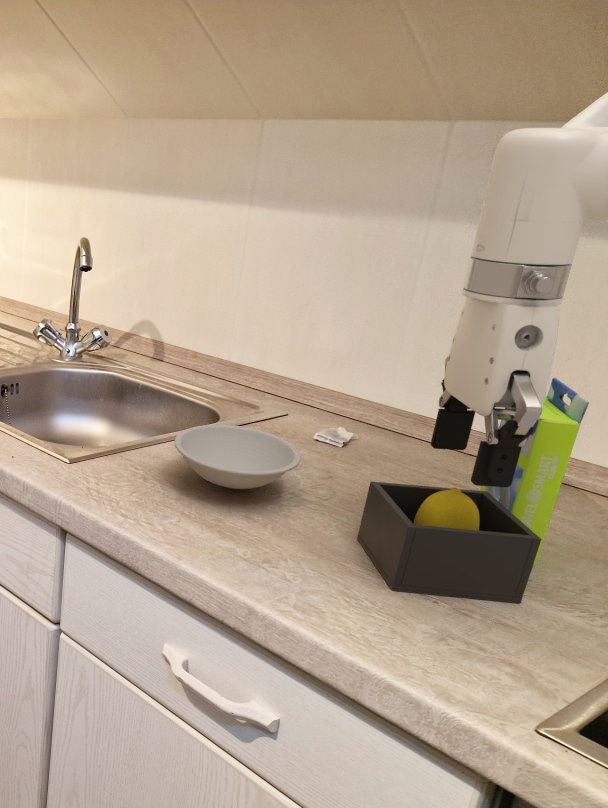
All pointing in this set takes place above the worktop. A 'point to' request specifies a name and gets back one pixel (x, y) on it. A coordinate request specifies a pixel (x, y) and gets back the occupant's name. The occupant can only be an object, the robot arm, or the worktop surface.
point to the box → (543, 460)
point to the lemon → (448, 511)
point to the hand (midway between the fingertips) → (467, 465)
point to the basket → (446, 546)
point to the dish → (236, 455)
